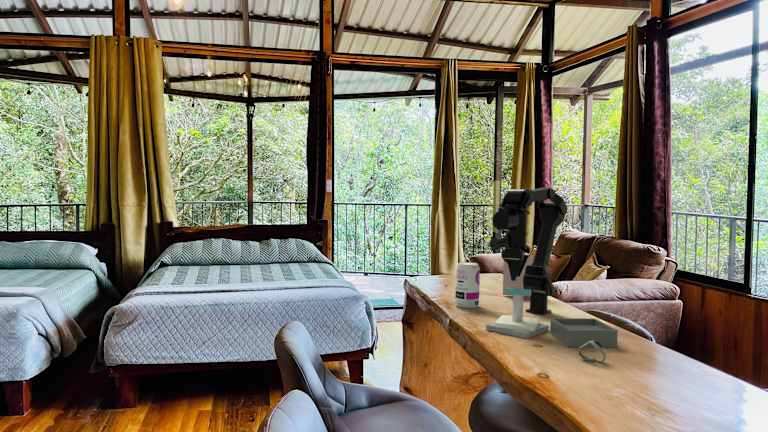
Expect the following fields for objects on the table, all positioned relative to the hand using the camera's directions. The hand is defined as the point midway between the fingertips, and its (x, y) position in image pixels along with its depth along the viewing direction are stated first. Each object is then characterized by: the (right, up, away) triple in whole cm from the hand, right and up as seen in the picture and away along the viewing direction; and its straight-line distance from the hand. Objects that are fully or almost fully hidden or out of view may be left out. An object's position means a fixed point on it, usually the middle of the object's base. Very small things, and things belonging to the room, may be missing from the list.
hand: (515, 278), depth 168 cm
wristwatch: (+8, -15, -40) cm, 44 cm away
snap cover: (-3, -12, -12) cm, 17 cm away
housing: (+13, -14, -22) cm, 29 cm away
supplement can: (-12, -12, +20) cm, 26 cm away
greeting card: (+10, -12, +41) cm, 43 cm away
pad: (-3, -14, -12) cm, 18 cm away
